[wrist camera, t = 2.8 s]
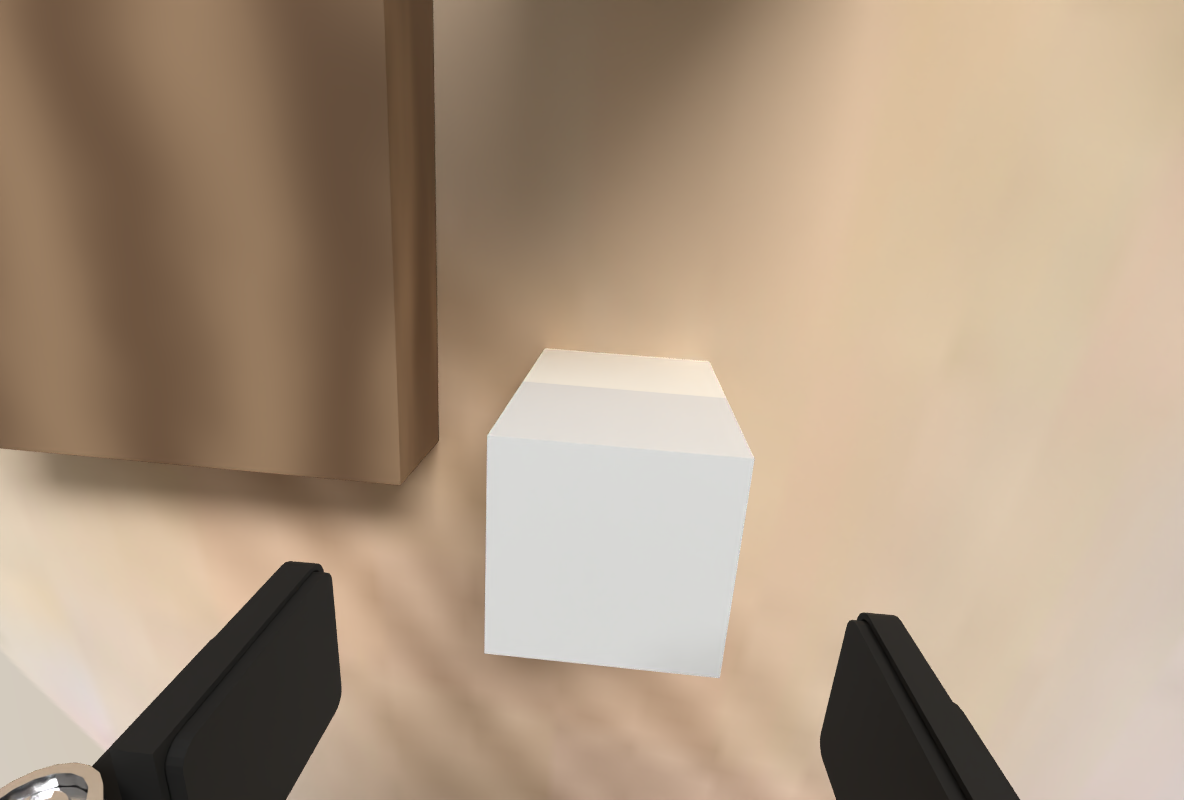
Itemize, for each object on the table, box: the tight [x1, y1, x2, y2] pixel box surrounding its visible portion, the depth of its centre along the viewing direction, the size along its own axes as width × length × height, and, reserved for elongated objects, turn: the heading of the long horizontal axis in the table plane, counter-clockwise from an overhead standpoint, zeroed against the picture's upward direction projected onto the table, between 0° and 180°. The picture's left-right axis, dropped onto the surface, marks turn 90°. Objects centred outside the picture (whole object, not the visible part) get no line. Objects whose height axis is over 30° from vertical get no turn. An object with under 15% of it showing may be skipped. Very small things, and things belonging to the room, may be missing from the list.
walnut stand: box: [0, 0, 439, 485], centre depth 20 cm, size 16×16×4 cm
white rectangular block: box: [484, 348, 754, 678], centre depth 19 cm, size 6×6×9 cm
